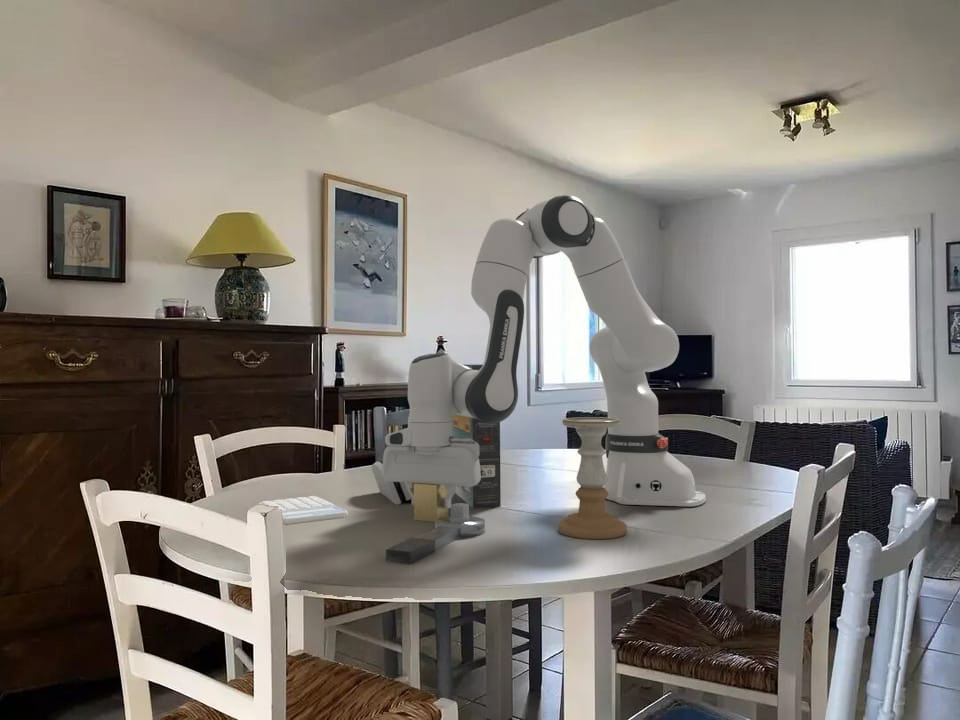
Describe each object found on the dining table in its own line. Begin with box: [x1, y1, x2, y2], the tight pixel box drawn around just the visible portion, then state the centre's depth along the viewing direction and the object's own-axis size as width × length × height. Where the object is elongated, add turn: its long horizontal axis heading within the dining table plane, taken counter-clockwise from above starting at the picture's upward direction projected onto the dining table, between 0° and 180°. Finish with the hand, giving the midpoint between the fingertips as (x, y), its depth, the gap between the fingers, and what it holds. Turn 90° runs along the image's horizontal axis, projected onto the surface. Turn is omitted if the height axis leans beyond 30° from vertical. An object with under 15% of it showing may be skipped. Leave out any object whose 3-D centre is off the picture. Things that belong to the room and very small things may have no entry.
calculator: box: [257, 495, 349, 525], centre depth 151 cm, size 13×20×2 cm, turn 31°
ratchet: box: [385, 502, 486, 565], centre depth 124 cm, size 26×9×5 cm, turn 156°
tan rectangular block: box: [413, 483, 450, 523], centre depth 144 cm, size 5×5×7 cm
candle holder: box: [557, 416, 628, 540], centre depth 132 cm, size 12×12×20 cm
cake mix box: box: [453, 363, 502, 509], centre depth 165 cm, size 22×6×30 cm, turn 14°
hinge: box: [371, 458, 412, 505], centre depth 166 cm, size 17×5×10 cm, turn 20°
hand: (431, 506), depth 144 cm, fingers closed on tan rectangular block, 5 cm apart
